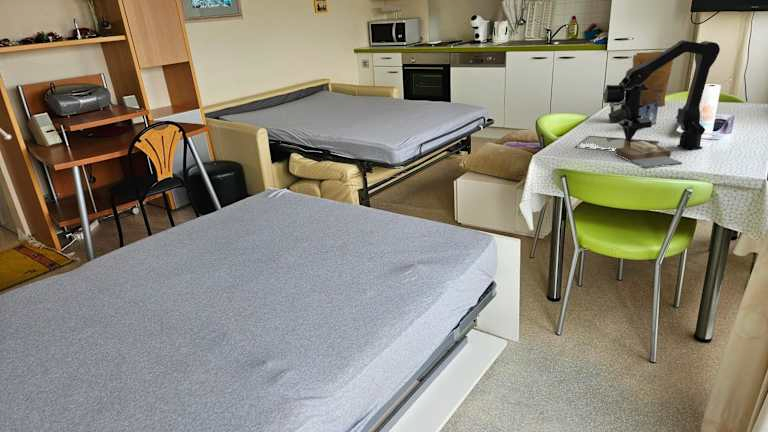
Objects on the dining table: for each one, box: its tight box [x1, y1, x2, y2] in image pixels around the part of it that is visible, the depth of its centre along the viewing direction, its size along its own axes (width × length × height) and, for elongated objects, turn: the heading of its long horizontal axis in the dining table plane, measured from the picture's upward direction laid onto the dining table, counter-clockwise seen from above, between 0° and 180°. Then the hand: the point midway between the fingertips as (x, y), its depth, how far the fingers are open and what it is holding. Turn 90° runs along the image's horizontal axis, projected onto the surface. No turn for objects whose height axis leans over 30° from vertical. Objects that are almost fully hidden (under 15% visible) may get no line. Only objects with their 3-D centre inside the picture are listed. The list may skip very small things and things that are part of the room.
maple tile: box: [630, 141, 657, 153], centre depth 195 cm, size 5×9×2 cm, turn 9°
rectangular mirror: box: [575, 135, 660, 152], centre depth 212 cm, size 19×1×28 cm
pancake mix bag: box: [632, 51, 675, 107], centre depth 271 cm, size 7×19×28 cm, turn 57°
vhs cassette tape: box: [636, 103, 659, 132], centre depth 234 cm, size 18×3×10 cm, turn 124°
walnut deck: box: [615, 144, 672, 162], centre depth 196 cm, size 16×10×2 cm, turn 99°
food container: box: [609, 98, 625, 124], centre depth 248 cm, size 12×6×10 cm, turn 108°
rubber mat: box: [631, 156, 683, 169], centre depth 188 cm, size 14×9×1 cm, turn 99°
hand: (628, 141), depth 205 cm, fingers closed
